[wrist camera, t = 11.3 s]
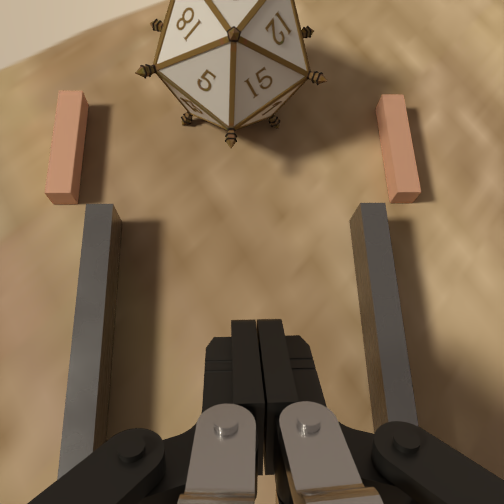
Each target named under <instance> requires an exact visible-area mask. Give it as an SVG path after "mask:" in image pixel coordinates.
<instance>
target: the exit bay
mask: <svg viewBox="0 0 504 504" xmlns="http://www.w3.org/2000/svg"><path fill="white" fill-rule="evenodd" d="M88 108H89V105H88V103H87V100H86V98H85V96H84V93H83V91H59V95H58V102H57V109H56V116H55V123H54V130H53V137H52V144H51V151H50V158H49V165H48V172H47V179H46V187H45V194H46V195H47V197H48V198H49V199H50V201H51V202H52V203H53V204H78V198H79V189H80V180H81V171H82V162H83V153H84V144H85V135H86V126H87V117H88ZM375 110H376V116H377V123H378V129H379V136H380V142H381V149H382V155H383V162H384V168H385V175H386V181H387V188H388V194H389V201H390V203H413V201H414V200H415V199H416V198H417V197H418V195H419V194H420V193H421V188H420V183H419V177H418V172H417V166H416V161H415V155H414V150H413V144H412V139H411V133H410V128H409V122H408V117H407V111H406V106H405V100H404V95H392V94H382V95H381V98H380V100H379V102H378V104H377V106H376V108H375Z"/></svg>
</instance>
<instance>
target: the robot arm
mask: <svg viewBox="0 0 504 504" xmlns="http://www.w3.org/2000/svg"><path fill="white" fill-rule="evenodd" d="M263 457H264V467H265V475H275V482H276V500H275V502H276V504H504V480H502V479H501V478H499V477H497V476H496V475H494V474H493V473H491V472H490V471H488V470H486V469H485V468H483V467H482V466H480V465H479V464H477V463H475V462H474V461H472V460H471V459H469V458H467V457H466V456H464V455H463V454H461V453H460V452H458V451H456V450H455V449H453V448H452V447H450V446H449V445H447V444H445V443H444V442H442V441H441V440H439V439H438V438H436V437H434V436H433V435H431V434H430V433H428V432H426V431H425V430H423V429H422V428H420V427H418V426H416V425H414V424H411V423H407V422H402V421H391V422H387V423H385V424H383V425H381V426H380V427H379V428H378V429H377V430H376V432H375V434H372V433H368V432H363V431H359V430H355V429H352V428H349V427H347V426H345V425H343V424H341V423H340V422H338V420H337V418H336V416H335V415H334V414H333V412H332V411H330V410H329V409H328V408H327V407H326V403H325V400H324V396H323V393H322V389H321V385H320V382H319V378H318V375H317V371H316V369H315V364H314V361H313V357H312V353H311V350H310V346H309V345H308V344H307V343H306V342H305V341H304V340H303V339H302V338H301V337H300V336H299V335H296V336H285V334H284V329H283V324H282V320H281V319H259V320H257V329H256V321H255V320H231V337H214V338H213V339H212V340H211V342H210V343H209V345H208V346H207V347H206V356H205V373H204V389H203V406H202V414H201V415H200V417H199V418H198V421H197V423H196V424H195V425H194V426H193V427H192V428H191V429H189V430H188V431H186V432H185V433H183V434H180V435H178V436H175V437H171V438H168V439H165V440H162V439H161V437H160V436H159V435H158V434H157V433H155V432H153V431H151V430H148V429H143V428H135V429H129V430H125V431H122V432H120V433H118V434H116V435H114V436H113V437H112V438H110V439H109V440H108V441H106V442H105V443H104V444H103V445H101V446H100V447H99V448H98V449H96V450H95V451H94V452H92V453H91V454H90V455H89V456H87V457H86V458H85V459H84V460H82V461H81V462H80V463H78V464H77V465H76V466H75V467H73V468H72V469H71V470H70V471H68V472H67V473H66V474H64V475H63V476H62V477H61V478H59V479H58V480H57V481H56V482H54V483H53V484H52V485H51V486H49V487H48V488H47V489H45V490H44V491H43V492H42V493H40V494H39V495H38V496H37V497H35V498H34V499H33V500H31V501H30V502H29V503H28V504H254V501H255V499H256V496H257V475H263Z"/></svg>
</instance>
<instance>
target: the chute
mask: <svg viewBox="0 0 504 504" xmlns="http://www.w3.org/2000/svg"><path fill="white" fill-rule="evenodd" d="M350 228H351V237H352V245H353V254H354V263H355V271H356V280H357V288H358V297H359V305H360V314H361V322H362V331H363V339H364V348H365V356H366V365H367V373H368V382H369V390H370V399H371V407H372V416H373V424H374V433H375V432H376V430H377V429H378V428H379V427H380V426H381V425H383V424H385V423H387V422H391V421H402V422H407V423H411V424H414V425H416V426H418V420H417V413H416V406H415V400H414V393H413V386H412V380H411V373H410V366H409V360H408V353H407V346H406V339H405V333H404V326H403V319H402V313H401V306H400V299H399V293H398V286H397V279H396V272H395V266H394V259H393V252H392V246H391V239H390V232H389V226H388V219H387V212H386V205H385V203H360V204H359V206H358V208H357V209H356V211H355V213H354V214H353V216H352V217H351V219H350ZM121 229H122V221H121V219H120V217H119V215H118V213H117V211H116V209H115V207H114V205H113V204H86V211H85V220H84V230H83V240H82V249H81V259H80V268H79V278H78V287H77V297H76V307H75V316H74V326H73V335H72V345H71V354H70V364H69V373H68V383H67V393H66V402H65V412H64V421H63V431H62V440H61V450H60V460H59V469H58V479H59V478H61V477H62V476H63V475H64V474H66V473H67V472H68V471H70V470H71V469H72V468H73V467H75V466H76V465H77V464H78V463H80V462H81V461H82V460H84V459H85V458H86V457H87V456H89V455H90V454H91V453H92V452H94V451H95V450H96V449H98V448H99V447H100V446H101V445H103V444H104V443H105V442H106V434H107V420H108V407H109V393H110V379H111V365H112V352H113V338H114V324H115V311H116V297H117V283H118V270H119V256H120V242H121ZM58 479H57V480H58Z"/></svg>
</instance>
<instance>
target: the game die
mask: <svg viewBox="0 0 504 504" xmlns="http://www.w3.org/2000/svg"><path fill="white" fill-rule="evenodd" d="M150 25H151V26H152V28H153V30H154V31H156V30H157V31H161V34H160V38H159V42H158V46H157V50H156V55H155V59H154V63H153V65H152V66H150V65H148V64H145V65H146V66H143V65H140V68H139V69H138V70H137V72H136V73H135V74H138V75H140V76H143V77H144V78H146V77H147V76H149V77H151V75H152V74H153V73H156V74H157V75H158V76H159V78H160V79H161V80H162V81H163V82H164V84H165V85H166V86H167V87H168V88H169V90H170V91H171V92H172V93H173V95H174V96H175V97H176V98H177V99H178V101H179V102H180V103H181V104H182V105H183V107H184V108H185V109H186V110H187V113H185V114H183V115H184V116H183V117H181V118H182V125H185V124H190V121H192V116H196V117H198V118H200V119H203V120H205V121H207V122H210V123H212V124H214V125H217V126H219V127H221V128H224V129H226V130H227V131H228V132H227V134H226V135H225V137H226V140H225V142H227V144H228V145H229V147H230V148H232V147H233V145H234V144H235V143H236V142H237V140H236V137H237V135H236V134H235V130H237V129H240V128H243V127H245V126H248V125H251V124H254V123H257V122H259V121H262V120H265V119H268V118H269V123H271V127H275V128H279V122H280V120H278V117H276V116H275V115H274V114H275V113H276V112H277V111H278V110H279V109H280V108H281V107H282V106H283V105H284V104H285V103H286V101H287V100H288V99H289V98H290V97H291V96H292V95H293V94H294V93H295V92H296V91H297V90H298V89H299V88H300V87H301V86H302V85H303V84H304V83H305V82H306V80H307V79H309V80H311V81H312V83H316V84H317V85H318V84H320V83H323V82H326V81H327V80H326V78H325V77H324V76H323V73H322V72H321V73H318V71H315V72H311V71H310V67H309V62H308V58H307V53H306V49H305V44H304V40H303V38H307V37H309V38H310V37H311V35H312V33H313V32H314V30H312V29H311V28H309V26H307V27H306V28H305V27H303V29H302V30H301V27H300V23H299V19H298V14H297V10H296V6H295V2H294V0H170V4H169V7H168V10H167V13H166V17H165V20H164V23H162V22H161V20H160V21H158V20H157V19H156V20H155V21H153V22H151V23H150Z"/></svg>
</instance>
